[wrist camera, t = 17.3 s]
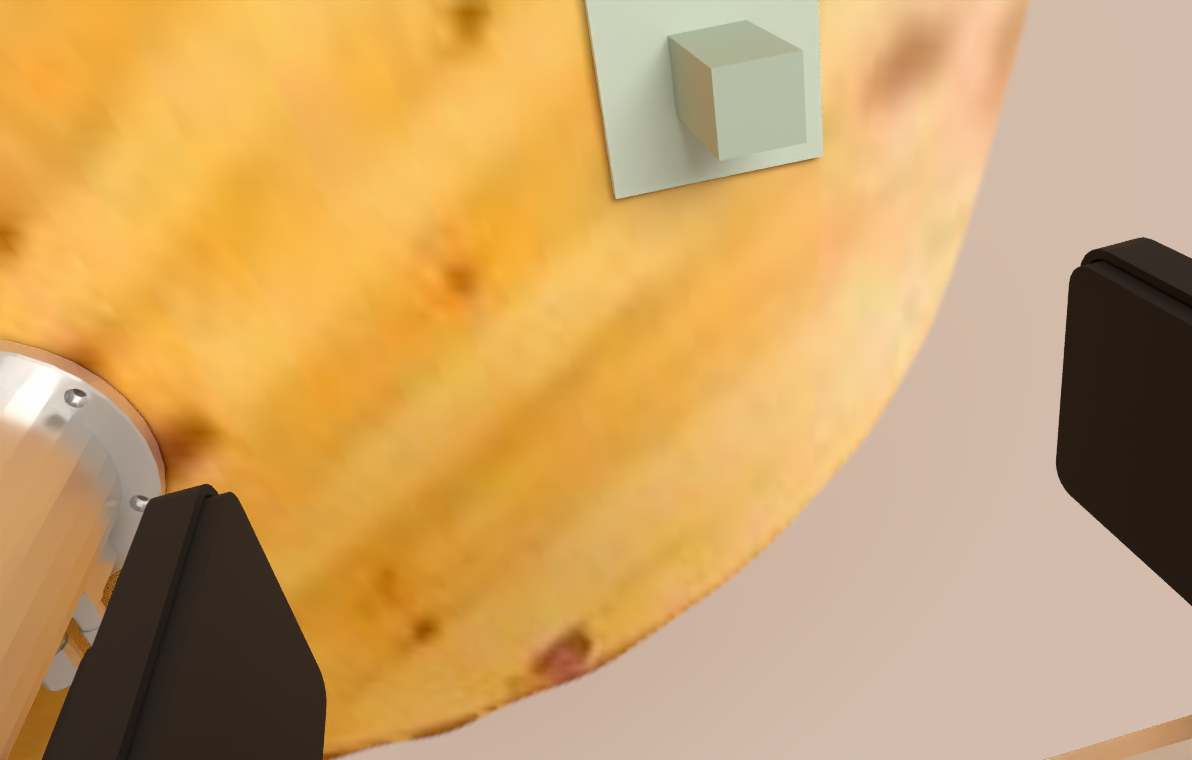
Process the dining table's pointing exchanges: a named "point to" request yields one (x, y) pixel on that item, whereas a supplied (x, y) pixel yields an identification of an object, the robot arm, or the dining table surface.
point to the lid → (705, 87)
